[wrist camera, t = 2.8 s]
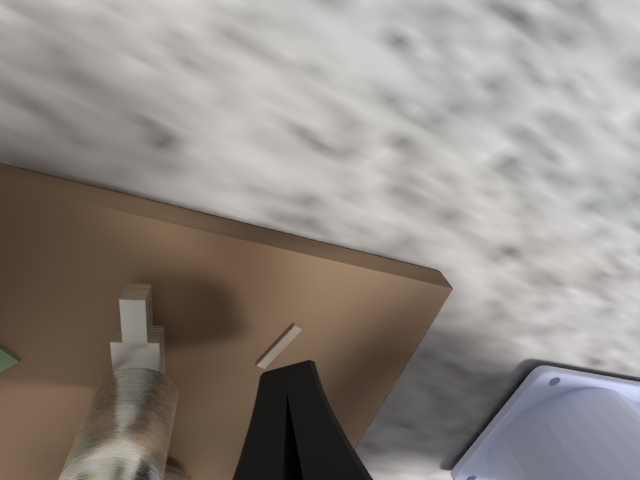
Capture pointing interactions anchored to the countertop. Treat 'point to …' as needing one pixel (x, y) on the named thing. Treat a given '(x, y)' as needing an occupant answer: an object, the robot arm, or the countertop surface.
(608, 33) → the countertop surface
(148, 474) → the needle
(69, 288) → the dial board
